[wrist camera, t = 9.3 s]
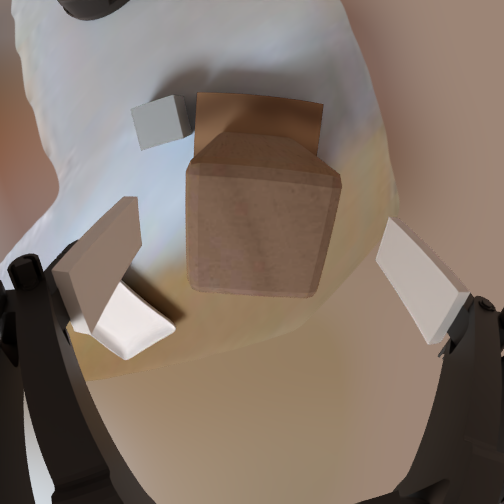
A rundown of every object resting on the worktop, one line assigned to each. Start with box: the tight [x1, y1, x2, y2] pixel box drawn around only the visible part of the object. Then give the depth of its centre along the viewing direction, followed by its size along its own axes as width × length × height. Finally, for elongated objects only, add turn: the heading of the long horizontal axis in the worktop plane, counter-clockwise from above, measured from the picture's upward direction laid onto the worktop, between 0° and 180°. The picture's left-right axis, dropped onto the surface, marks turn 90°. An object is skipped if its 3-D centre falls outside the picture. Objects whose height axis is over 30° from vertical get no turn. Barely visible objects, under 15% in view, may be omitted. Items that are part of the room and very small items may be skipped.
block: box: [186, 132, 342, 298], centre depth 26 cm, size 10×10×20 cm
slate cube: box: [131, 95, 192, 151], centre depth 33 cm, size 6×6×6 cm
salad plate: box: [91, 280, 176, 360], centre depth 52 cm, size 21×21×3 cm
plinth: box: [194, 92, 323, 157], centre depth 36 cm, size 16×16×5 cm
